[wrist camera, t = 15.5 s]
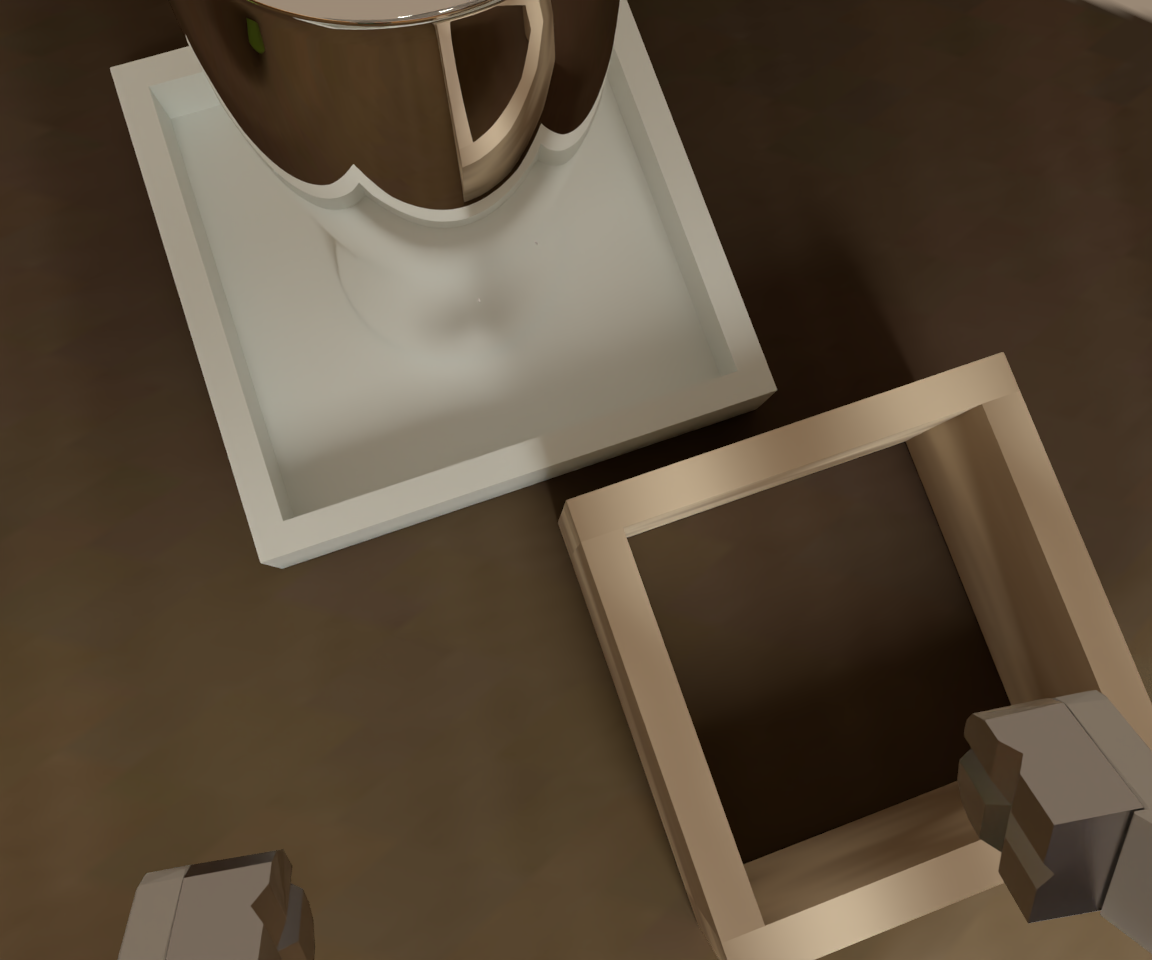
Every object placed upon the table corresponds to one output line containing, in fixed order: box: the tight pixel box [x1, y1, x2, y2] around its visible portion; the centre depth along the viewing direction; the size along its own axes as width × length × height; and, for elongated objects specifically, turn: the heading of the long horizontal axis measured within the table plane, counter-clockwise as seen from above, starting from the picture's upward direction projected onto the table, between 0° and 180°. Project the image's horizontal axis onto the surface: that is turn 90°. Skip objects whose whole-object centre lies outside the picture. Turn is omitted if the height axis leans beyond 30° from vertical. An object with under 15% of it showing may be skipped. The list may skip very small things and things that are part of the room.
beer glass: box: [168, 0, 620, 359], centre depth 19 cm, size 7×7×15 cm
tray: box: [110, 0, 777, 569], centre depth 26 cm, size 14×14×2 cm
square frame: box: [558, 352, 1152, 960], centre depth 24 cm, size 11×11×4 cm
